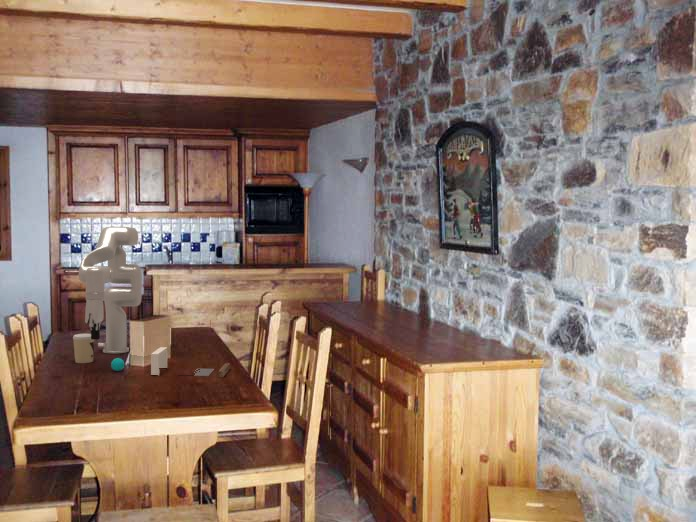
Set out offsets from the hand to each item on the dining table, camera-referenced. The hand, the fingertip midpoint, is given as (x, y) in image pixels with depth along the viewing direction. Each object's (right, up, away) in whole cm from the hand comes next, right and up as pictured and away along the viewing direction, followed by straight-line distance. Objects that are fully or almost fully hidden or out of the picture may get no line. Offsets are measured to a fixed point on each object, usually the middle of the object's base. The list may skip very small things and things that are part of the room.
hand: (95, 339), depth 313 cm
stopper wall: (+55, -15, +1) cm, 57 cm away
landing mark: (+43, -14, +1) cm, 46 cm away
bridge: (+27, -14, +1) cm, 31 cm away
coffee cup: (-11, -12, +19) cm, 25 cm away
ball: (+9, -11, +1) cm, 14 cm away
